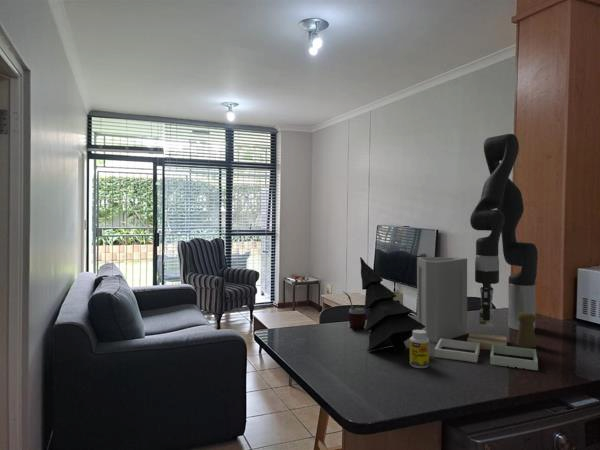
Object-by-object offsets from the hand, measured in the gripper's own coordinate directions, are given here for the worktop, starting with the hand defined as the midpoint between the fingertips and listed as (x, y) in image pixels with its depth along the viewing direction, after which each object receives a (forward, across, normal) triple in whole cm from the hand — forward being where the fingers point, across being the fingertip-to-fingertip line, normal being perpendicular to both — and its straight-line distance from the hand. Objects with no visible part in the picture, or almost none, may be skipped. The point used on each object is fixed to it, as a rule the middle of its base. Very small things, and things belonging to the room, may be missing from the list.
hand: (486, 318), depth 147 cm
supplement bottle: (+9, +30, -17) cm, 36 cm away
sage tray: (+9, +14, +8) cm, 18 cm away
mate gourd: (+9, -1, -47) cm, 48 cm away
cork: (+9, -5, +12) cm, 16 cm away
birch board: (+9, 0, 0) cm, 9 cm away
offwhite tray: (+9, +14, -8) cm, 18 cm away
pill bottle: (+3, 0, 0) cm, 3 cm away
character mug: (+9, -13, -35) cm, 38 cm away
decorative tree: (+9, +18, -31) cm, 37 cm away
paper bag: (+9, -7, -18) cm, 21 cm away
